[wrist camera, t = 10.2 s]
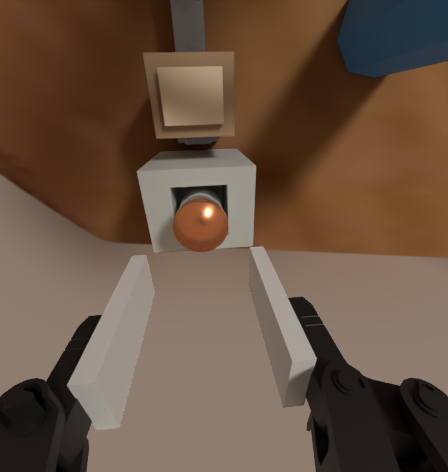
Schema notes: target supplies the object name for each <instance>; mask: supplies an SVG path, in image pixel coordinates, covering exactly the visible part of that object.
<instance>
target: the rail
mask: <svg viewBox="0 0 448 472" xmlns="http://www.w3.org/2000/svg"><path fill="white" fill-rule="evenodd" d="M170 4H171V13H172V23H173V33H174V42H175V52H206V44H205V25H204V6H203V0H170ZM211 142H218V136H217V137H191V138H178V143H185V145H190V144H211Z"/></svg>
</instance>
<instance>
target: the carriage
mask: <svg viewBox="0 0 448 472" xmlns="http://www.w3.org/2000/svg"><path fill="white" fill-rule="evenodd" d="M143 58H144V65H145V71H146V77H147V83H148V90H149V96H150V102H151V108H152V115H153V121H154V127H155V133H156V139H164V138H191V137H217V136H234V52H158V53H143Z"/></svg>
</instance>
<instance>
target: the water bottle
mask: <svg viewBox="0 0 448 472" xmlns="http://www.w3.org/2000/svg"><path fill="white" fill-rule="evenodd" d="M337 41H338V44H339V47H340V50H341V53H342V56H343V59H344V62H345V65H346V68H347V71H348V72H351V73H355V74H360V75H364V76H368V77H373V78H375V77H380V76H384V75H388V74H393V73H397V72H401V71H406V70H410V69H415V68H419V67H423V66H428V65H432V64H436V63H441V62H445V61H448V0H349V2H348V5H347V8H346V11H345V15H344V18H343V21H342V25H341V28H340V31H339V35H338V38H337Z"/></svg>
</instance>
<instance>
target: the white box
mask: <svg viewBox="0 0 448 472" xmlns="http://www.w3.org/2000/svg"><path fill="white" fill-rule="evenodd" d="M137 175H138V180H139V185H140V189H141V194H142V199H143V203H144V208H145V213H146V217H147V222H148V227H149V232H150V236H151V241H152V245H153V250H154V253H160V252H175V251H188V250H189V249H187V248H185V247H184V246H182V245H181V244H180V243H179V242H178V241H177V239H176V237H175V235H174V232H173V222H174V218H175V215H176V213H177V211H178V209H179V208H180V204H181V200H182V196H183V194H184V192H185V191H186V190H187V189H188V188H189V187H191V186H211V187H213V188H214V189H215V190H216V191H217V192H218V194H219V197H220V201H221V205H222V209H223V210H224V212H225V214H226V216H227V220H228V225H229V229H228V234H227V237H226V239H225V240H224V242H223V243H222V244H221V245H219V246H218V247H217V248H231V247H245V246H253V231H254V207H255V182H256V165H255V164H254V163H253V162H251V161H250V160H249V159H248V158H247V157H246V156H245V155H243V154H242V153H241V152H240V151H239V150H238V149H237V148H234V149H210V150H185V151H161V152H159V153H158V154H157V155H156V156H154V157H153V158H152V159H151V160H150V161H148V162H147V163H146V164H145V165H144V166H142V167H141V168H140V169H139V170H138V171H137ZM217 248H215V249H217Z"/></svg>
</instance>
